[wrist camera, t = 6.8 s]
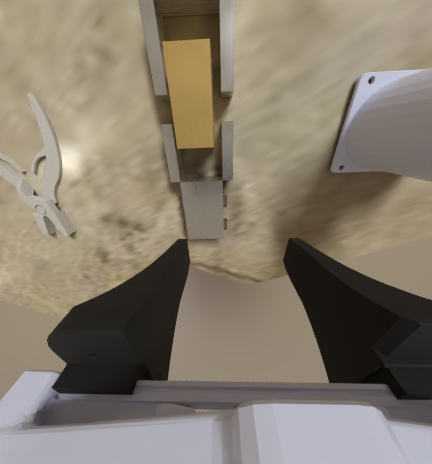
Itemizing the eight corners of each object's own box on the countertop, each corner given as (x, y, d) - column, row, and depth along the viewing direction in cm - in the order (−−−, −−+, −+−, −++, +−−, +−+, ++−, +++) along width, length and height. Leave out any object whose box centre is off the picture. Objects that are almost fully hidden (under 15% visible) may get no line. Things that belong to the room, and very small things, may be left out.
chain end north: (231, 123, 16) (233, 120, 14) (230, 228, 22) (231, 238, 20) (167, 126, 16) (159, 124, 14) (184, 229, 22) (180, 239, 20)
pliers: (24, 90, 14) (92, 236, 22) (42, 94, 15) (100, 230, 23) (-87, 90, 14) (20, 235, 22) (-60, 94, 15) (32, 229, 23)
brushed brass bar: (212, 66, 14) (209, 38, 10) (215, 144, 17) (213, 147, 13) (177, 68, 14) (162, 41, 10) (186, 146, 17) (177, 148, 13)
